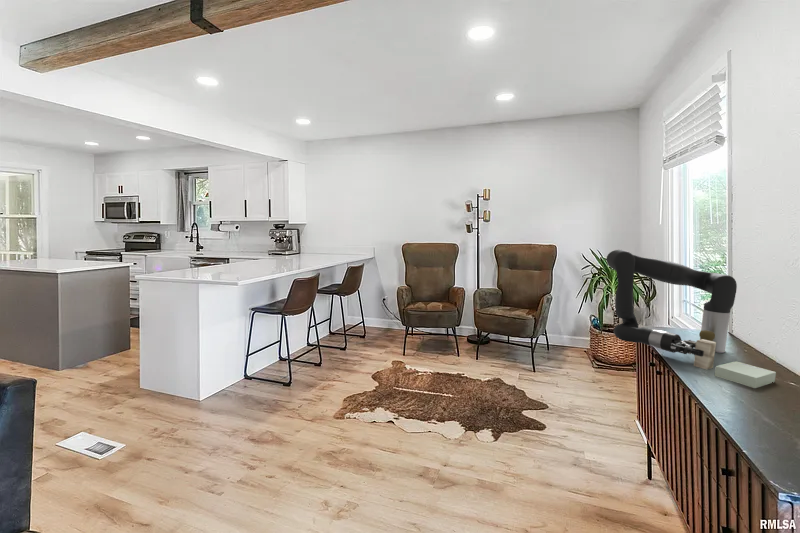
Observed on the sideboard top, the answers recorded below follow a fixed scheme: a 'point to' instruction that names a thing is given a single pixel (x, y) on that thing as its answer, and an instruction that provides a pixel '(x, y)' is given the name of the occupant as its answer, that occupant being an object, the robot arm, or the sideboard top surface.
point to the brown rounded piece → (706, 335)
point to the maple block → (705, 354)
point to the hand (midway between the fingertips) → (709, 352)
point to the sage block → (745, 374)
